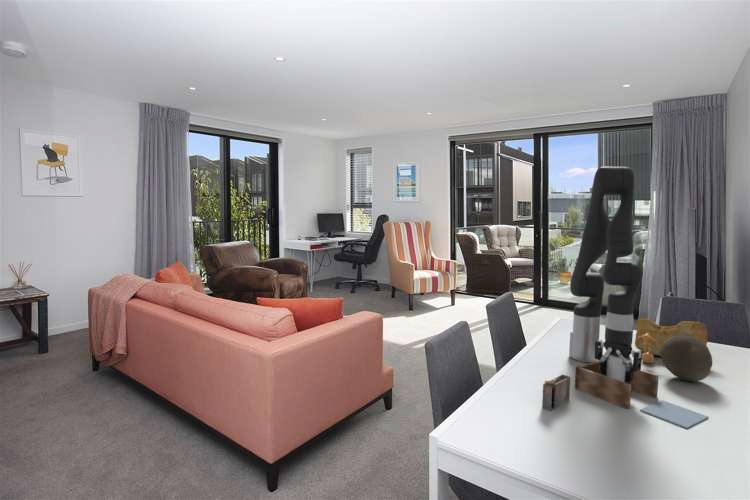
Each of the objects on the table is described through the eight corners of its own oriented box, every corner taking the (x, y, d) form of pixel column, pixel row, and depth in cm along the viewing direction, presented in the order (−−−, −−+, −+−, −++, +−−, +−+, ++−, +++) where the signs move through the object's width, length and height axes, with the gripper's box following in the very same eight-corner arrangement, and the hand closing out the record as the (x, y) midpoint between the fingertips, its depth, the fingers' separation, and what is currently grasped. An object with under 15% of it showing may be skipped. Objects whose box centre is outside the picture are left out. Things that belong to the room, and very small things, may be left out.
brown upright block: (552, 413, 127) (553, 380, 126) (542, 409, 129) (543, 377, 128) (570, 401, 134) (572, 370, 133) (561, 398, 137) (562, 367, 136)
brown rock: (689, 371, 158) (692, 330, 156) (721, 388, 144) (725, 343, 142) (650, 372, 157) (653, 330, 156) (678, 388, 143) (682, 343, 141)
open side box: (574, 388, 143) (575, 367, 143) (604, 378, 151) (605, 358, 151) (627, 409, 129) (629, 385, 128) (657, 396, 137) (658, 374, 136)
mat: (640, 410, 128) (640, 409, 128) (662, 401, 134) (662, 400, 134) (686, 428, 117) (686, 427, 117) (708, 417, 124) (708, 416, 123)
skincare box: (625, 397, 137) (628, 359, 135) (610, 395, 138) (612, 358, 136) (619, 389, 143) (621, 352, 141) (604, 388, 143) (606, 351, 142)
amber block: (708, 357, 175) (710, 319, 175) (706, 365, 162) (707, 324, 162) (640, 347, 190) (641, 312, 189) (633, 354, 177) (634, 316, 177)
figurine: (661, 364, 165) (663, 333, 163) (656, 368, 161) (658, 336, 159) (636, 358, 171) (638, 328, 169) (631, 362, 167) (633, 331, 165)
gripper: (590, 322, 142) (587, 373, 144) (635, 334, 130) (632, 388, 132) (604, 319, 146) (601, 368, 148) (649, 330, 134) (646, 383, 135)
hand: (616, 378), depth 140 cm, fingers closed on skincare box, 7 cm apart
